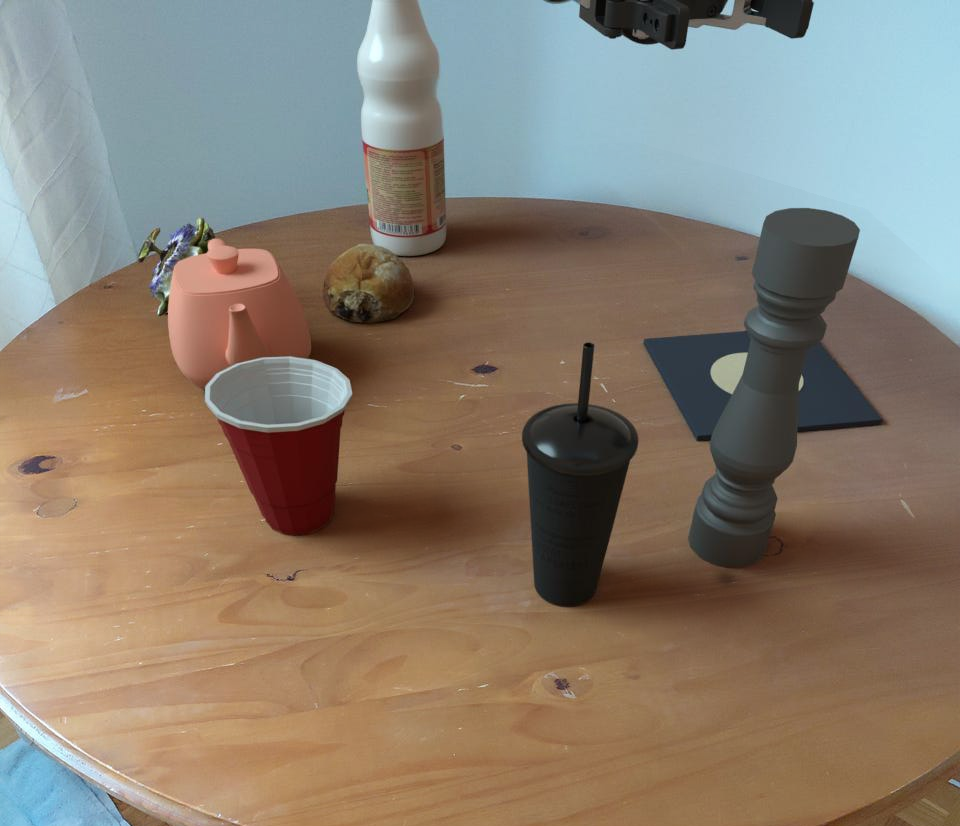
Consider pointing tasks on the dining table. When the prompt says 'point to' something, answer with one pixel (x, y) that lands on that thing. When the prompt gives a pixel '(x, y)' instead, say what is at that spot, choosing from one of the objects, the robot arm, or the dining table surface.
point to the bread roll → (368, 285)
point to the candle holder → (770, 381)
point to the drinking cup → (575, 490)
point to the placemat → (719, 366)
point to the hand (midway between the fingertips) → (745, 24)
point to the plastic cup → (284, 435)
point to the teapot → (232, 312)
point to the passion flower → (174, 256)
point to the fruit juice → (402, 130)
